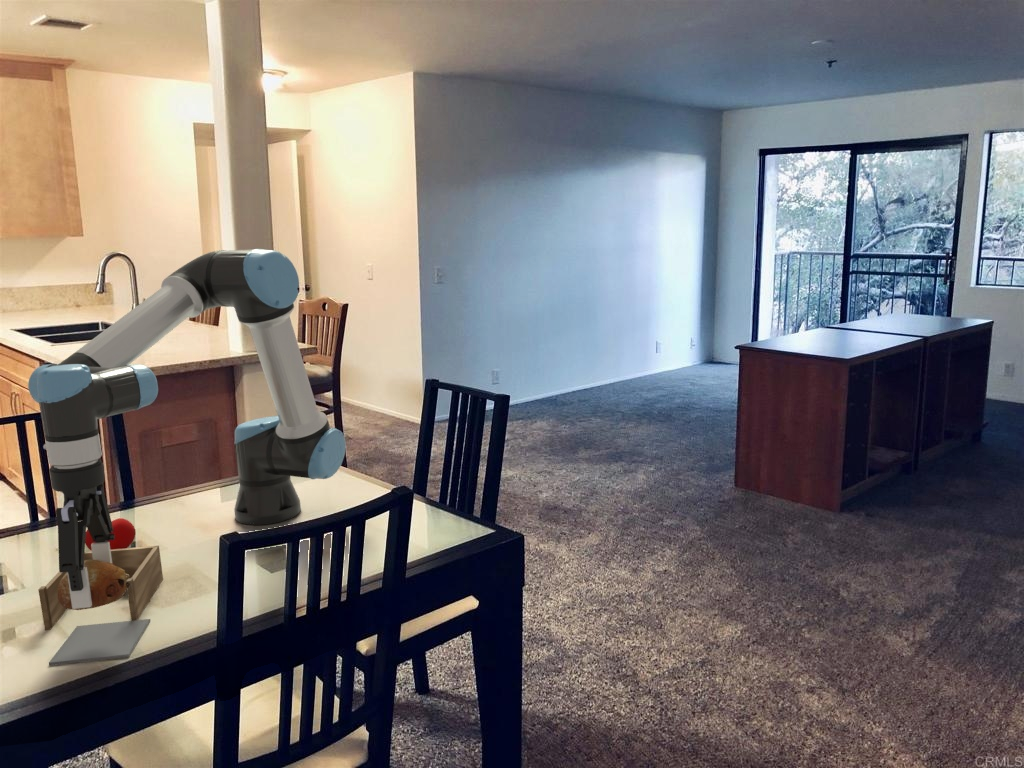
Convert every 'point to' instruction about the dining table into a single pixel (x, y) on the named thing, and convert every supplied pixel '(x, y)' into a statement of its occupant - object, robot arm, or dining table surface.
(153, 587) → the box
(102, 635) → the slate board
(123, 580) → the bread roll
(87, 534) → the red heart shape
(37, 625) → the dining table surface
